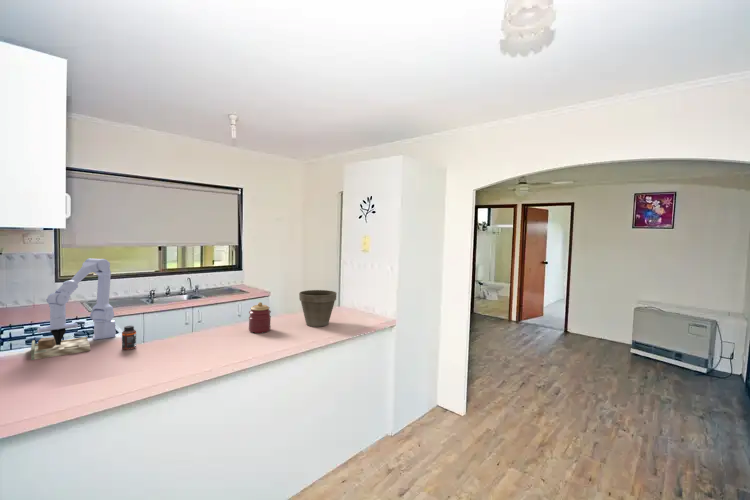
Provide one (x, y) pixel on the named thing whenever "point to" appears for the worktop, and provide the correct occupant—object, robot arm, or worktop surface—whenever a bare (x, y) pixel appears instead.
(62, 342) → the box
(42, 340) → the walnut block
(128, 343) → the supplement bottle
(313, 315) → the plant pot
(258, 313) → the canister
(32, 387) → the worktop surface
